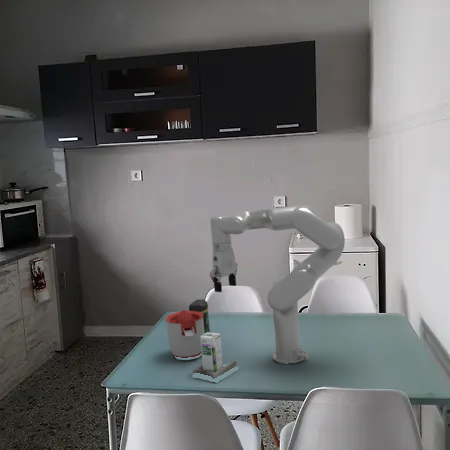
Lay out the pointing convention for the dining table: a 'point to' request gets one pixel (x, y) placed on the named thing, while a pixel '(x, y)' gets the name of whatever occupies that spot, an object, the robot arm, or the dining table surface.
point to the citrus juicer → (185, 333)
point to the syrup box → (211, 352)
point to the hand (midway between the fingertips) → (225, 288)
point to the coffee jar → (203, 308)
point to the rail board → (215, 374)
